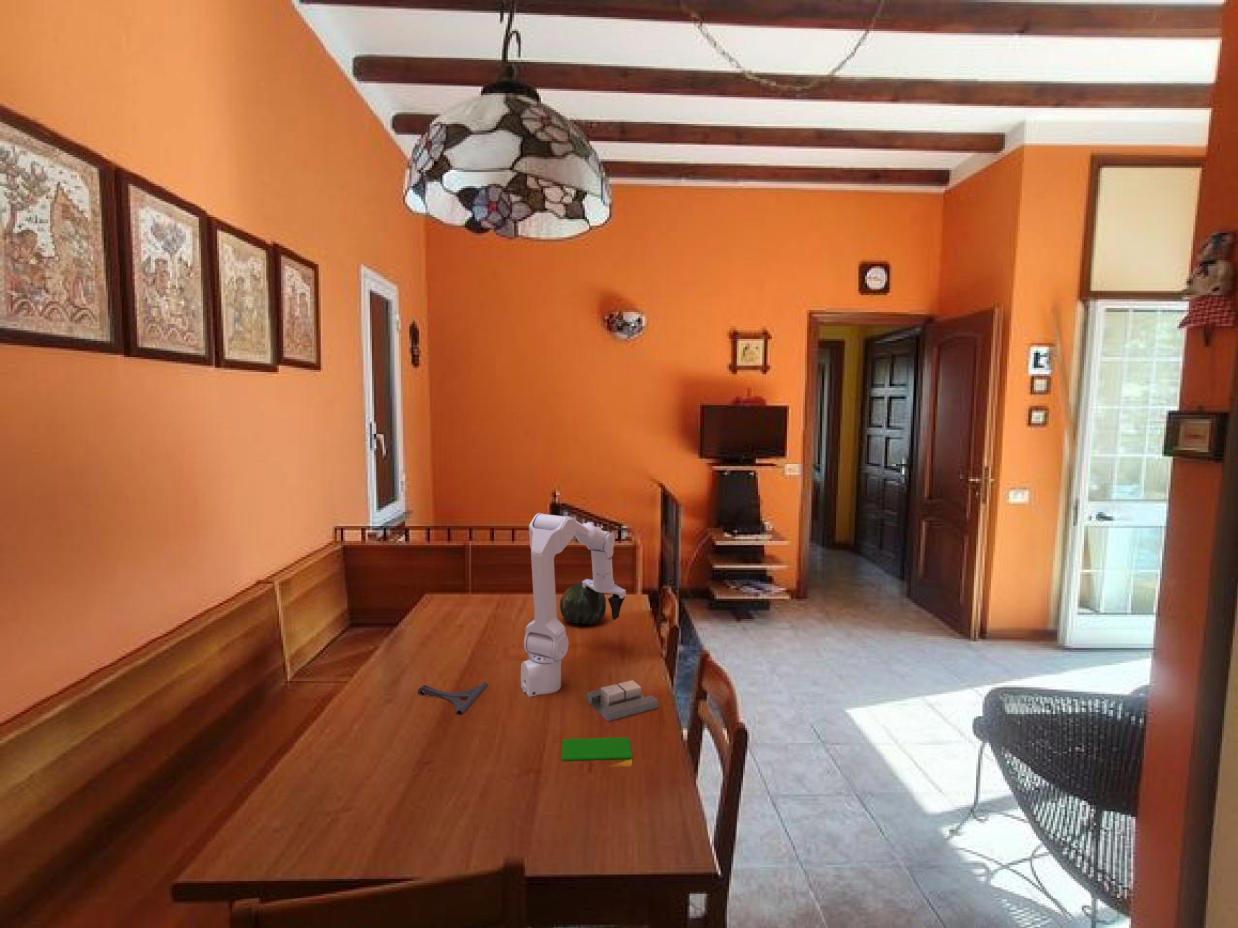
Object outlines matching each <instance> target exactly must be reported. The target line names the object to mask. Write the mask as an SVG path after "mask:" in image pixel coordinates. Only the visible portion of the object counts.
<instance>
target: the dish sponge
mask: <svg viewBox="0 0 1238 928" xmlns="http://www.w3.org/2000/svg"><path fill="white" fill-rule="evenodd" d="M561 745H562V747H561V761H563V762H571V761H572V762H573V761H574V762H578V761H604V760H605V761H606V760H607V761H608V760H610V761H611V760H624V761H620V762H618V763H613V764H611V765H608V766H606V768H616V767H617V768H619V767H620V768H621V767H623V768H624V767H631V766H632V765H633V759H632V758H633V755H632V749H631V741H630V737H627V736H626V737H624V736H623V737H595V738H589V737H587V738H586V737H585V738H563V739H562V744H561Z"/></svg>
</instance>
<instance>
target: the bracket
mask: <svg viewBox="0 0 1238 928" xmlns="http://www.w3.org/2000/svg"><path fill="white" fill-rule="evenodd" d="M486 687H487V688H488V682H487V681H483V682H481V684H480V685H477V686H475V687H473V688H469V689H467V690H463V691H454V692H448V691H443V690H439V689H436V688H433V687H431V686H428V685H425V684H422V685H421V686H420V687H419V688H418V689H417V695H418V694H420V695H419V696H422V695H421V694H423V692H424V695H429V696H428V697H433V696H437V697H436V698H441V699H445V700H447V701H449V702H451V704H453V706H454V708H455V714H456V715H458V714H459V713H461V714H463V713H464V712H465V711H466V712H467V711H468V709H470V707H472V705H473V704H474V703H475V701H476V700H478V698H479V697H480V696H481V694H483V692H484V691H485V690H486V689H487V688H486ZM421 692H422V693H421ZM424 695H423V696H424ZM479 695H480V696H479ZM462 700H463V701H464V702H463V701H462ZM459 711H460V712H459ZM458 712H459V713H458ZM466 712H465V713H466ZM465 713H464V714H465ZM464 714H463V715H464Z"/></svg>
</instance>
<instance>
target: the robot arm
mask: <svg viewBox="0 0 1238 928" xmlns="http://www.w3.org/2000/svg"><path fill="white" fill-rule="evenodd" d="M528 531H529V535H528V536H529V548H530V549H531V550H530V559H531V574H532V575H531V577H532V578H531V579H532V593H533V613H534V619H533V620H532V621H530V622H529V623H528V624H527V625H526V627H525V633H524V634H525V635H524V640H523V648H524V651H525V652H526V653H527V654H528V658H529V659H527V660H524V661H522V662H521V664H520V687H521V689H522V691H523V693H526V695H527V696H528V697H529V698H530V697H534V696H538V695H549V694H553V693H556V692H558V691H559V690H560V689H561V687H562V678H561V677H562V660H563V659H564V657H565V656H566V655H567V653H568V650H569V646H570V645H569V638H568V635H567V632H566V627H565V626H564V624H563V623H562V622H561V621H560V620H559V619H558V618H557V616H558V615H557V599H556V598H557V596H556V580H555V577H556V575H555V556H556V555H558V554H560V553H562V552H563V551H564V549H565V548H566V547H567V546H568V545H569V543H570V542H571V541H572V540H573V538H574V537H575V538H576V540H577V541H578V543H580V544H581V545H584V546H586V548H587V549H588V550H590V551H591V552H590V553H591V554H590V555H591V567H592V568H591V569H592V579H589V578H585V579H584V580H582V581H581V582H582V584H583V588H586V589H585V590H584V591H583V594H584V596H585V597H586V598H587V600H588V602H589V605H590V607H591V610H592V613H595V612H597V611H598V609H599V601H598V599H599V592H601V593H604V594H609V595H611V596H610V597H609V598H607V601H608V603H609V605H610V609H611V619H612V620H615V621H616V620H617V619H619V618H620V612H621V609H622V608H621V607H622V605H623V604H624V603H623V602H624V600H625V598H626V597H627V592H626V591H627V590H626V589H624V588H622V587H620V586H618V585H617V584H615V580H614V575H613V574H614V573H613V571H614V570H613V569H614V568H613V556H614V547H615V542H616V538H615V536H614V534H612V532H610V531H606V530H602V527H600V526H595V523H594V522H592V521H591V522H590V521H588V522H584V523H581V522H579V521H577V520H576V518H575V517H572V516H569V515H567V516H564V515H562V516H561V515H555V514H546V513H542V512H538V513H536V514H535V515H534V516H533V518H532V520H531V521H530V523H529V525H528Z"/></svg>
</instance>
